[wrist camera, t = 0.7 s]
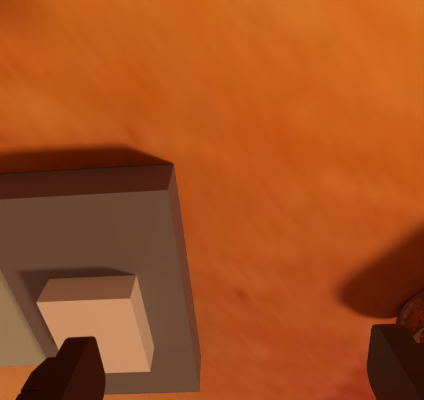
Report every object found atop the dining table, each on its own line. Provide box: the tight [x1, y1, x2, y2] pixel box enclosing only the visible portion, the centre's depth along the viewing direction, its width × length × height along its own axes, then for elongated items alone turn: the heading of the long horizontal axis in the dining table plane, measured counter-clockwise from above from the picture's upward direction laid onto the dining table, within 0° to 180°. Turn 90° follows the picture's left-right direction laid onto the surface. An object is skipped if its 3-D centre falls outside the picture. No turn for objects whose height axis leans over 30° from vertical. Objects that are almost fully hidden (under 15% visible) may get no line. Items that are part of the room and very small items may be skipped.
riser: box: [0, 164, 201, 395], centre depth 32 cm, size 24×14×4 cm, turn 4°
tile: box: [36, 275, 154, 373], centre depth 29 cm, size 9×7×2 cm
